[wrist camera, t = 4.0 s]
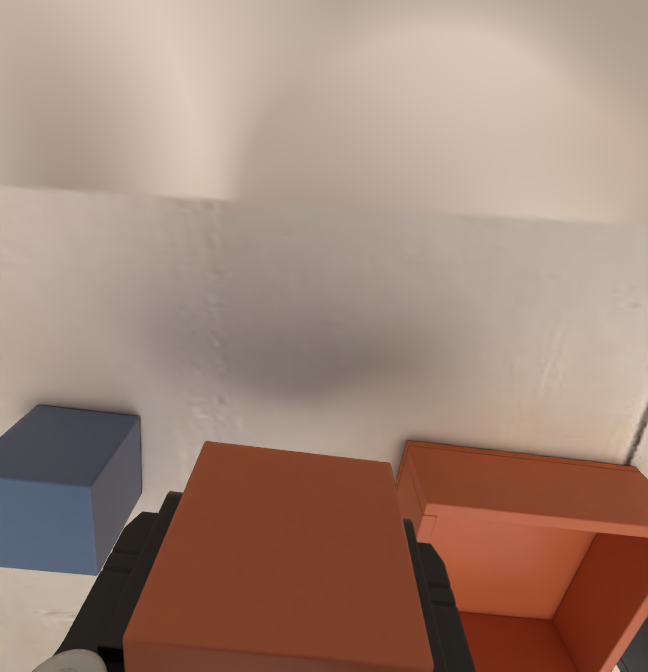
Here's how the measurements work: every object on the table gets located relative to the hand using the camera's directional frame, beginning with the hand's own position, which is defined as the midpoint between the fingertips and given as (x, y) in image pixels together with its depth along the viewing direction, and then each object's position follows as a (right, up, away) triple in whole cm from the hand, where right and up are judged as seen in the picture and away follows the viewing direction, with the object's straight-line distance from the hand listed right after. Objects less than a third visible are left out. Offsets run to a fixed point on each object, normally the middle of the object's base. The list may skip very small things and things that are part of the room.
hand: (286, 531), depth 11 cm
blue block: (-10, 0, +9) cm, 13 cm away
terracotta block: (0, 0, 0) cm, 0 cm away
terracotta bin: (+9, -6, +11) cm, 16 cm away
